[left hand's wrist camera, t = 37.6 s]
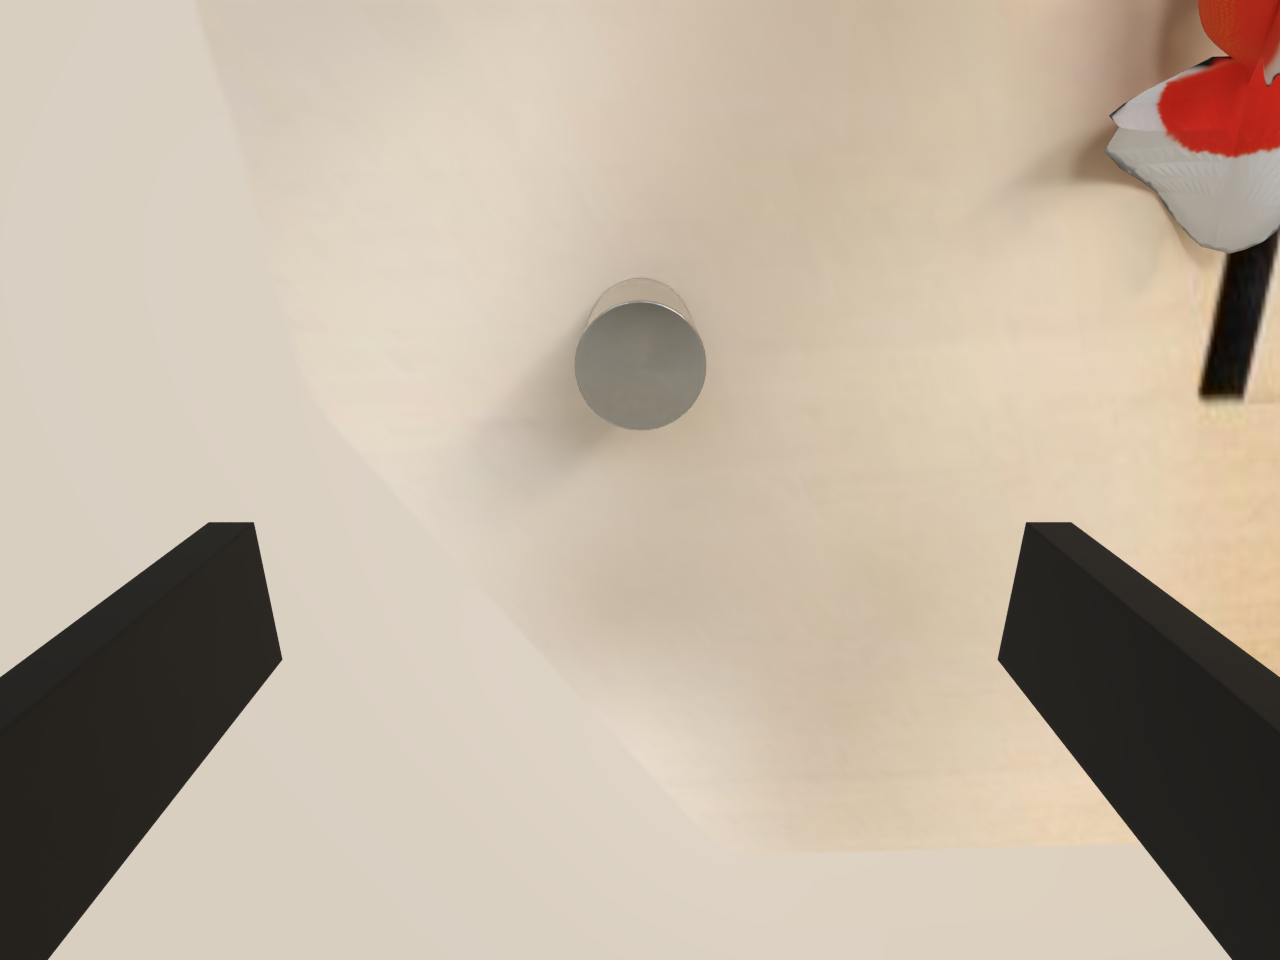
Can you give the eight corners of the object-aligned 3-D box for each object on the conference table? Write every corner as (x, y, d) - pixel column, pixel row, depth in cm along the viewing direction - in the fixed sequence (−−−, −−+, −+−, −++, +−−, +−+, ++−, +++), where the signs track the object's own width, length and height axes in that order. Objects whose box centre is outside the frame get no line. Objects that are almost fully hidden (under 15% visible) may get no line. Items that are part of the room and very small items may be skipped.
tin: (689, 382, 39) (703, 431, 31) (589, 380, 39) (576, 430, 31) (693, 278, 37) (709, 301, 29) (588, 277, 37) (573, 299, 29)
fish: (1534, -199, 26) (1697, -174, 20) (1268, 212, 38) (1316, 313, 31) (1203, -206, 29) (1251, -185, 23) (1046, 180, 40) (1048, 268, 34)
